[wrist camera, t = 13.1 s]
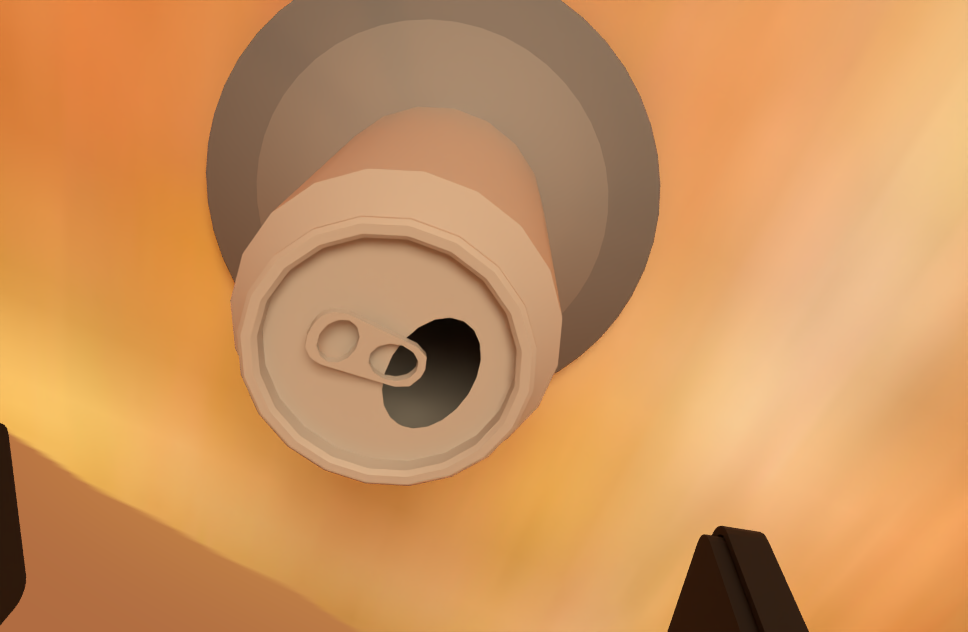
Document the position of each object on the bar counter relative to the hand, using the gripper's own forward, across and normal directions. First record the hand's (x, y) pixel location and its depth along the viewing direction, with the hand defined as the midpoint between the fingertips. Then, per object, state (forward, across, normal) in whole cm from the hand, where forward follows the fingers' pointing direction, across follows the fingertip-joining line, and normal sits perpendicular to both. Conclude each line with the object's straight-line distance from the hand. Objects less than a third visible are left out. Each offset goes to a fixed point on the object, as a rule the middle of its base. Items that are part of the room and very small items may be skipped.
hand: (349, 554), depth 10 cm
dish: (+19, +1, 0) cm, 19 cm away
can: (+18, +1, 0) cm, 18 cm away
